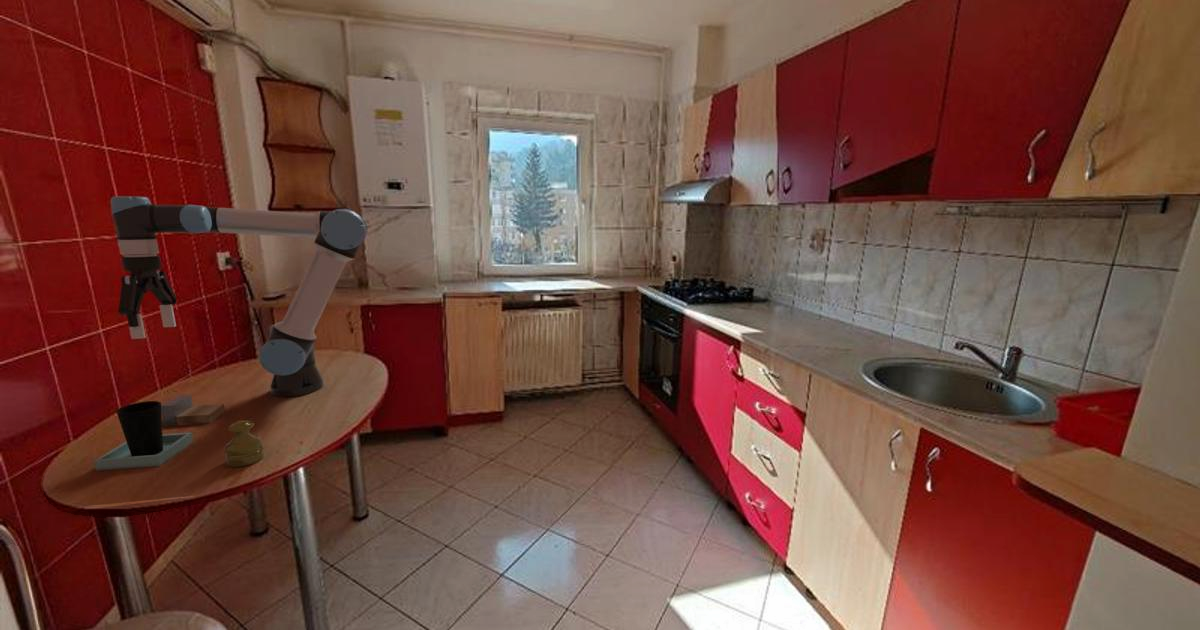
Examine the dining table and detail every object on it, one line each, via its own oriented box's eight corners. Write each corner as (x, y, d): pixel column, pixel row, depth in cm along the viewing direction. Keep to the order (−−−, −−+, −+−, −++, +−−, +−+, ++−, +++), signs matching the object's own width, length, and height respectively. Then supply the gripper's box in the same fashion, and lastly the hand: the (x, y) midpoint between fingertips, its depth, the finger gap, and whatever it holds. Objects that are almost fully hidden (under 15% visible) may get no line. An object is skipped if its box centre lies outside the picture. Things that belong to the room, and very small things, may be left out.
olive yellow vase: (223, 470, 108) (216, 430, 106) (230, 456, 114) (224, 418, 112) (261, 463, 111) (256, 424, 109) (266, 450, 118) (261, 413, 116)
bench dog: (193, 414, 138) (190, 394, 137) (176, 425, 130) (173, 405, 129) (182, 414, 137) (178, 395, 136) (163, 426, 129) (160, 406, 128)
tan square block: (225, 413, 140) (224, 403, 139) (210, 424, 132) (208, 414, 132) (194, 415, 138) (193, 405, 137) (177, 426, 130) (175, 416, 130)
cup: (176, 448, 116) (168, 403, 114) (138, 463, 109) (129, 415, 107) (156, 443, 118) (148, 399, 116) (118, 457, 111) (108, 410, 109)
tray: (193, 441, 121) (192, 432, 121) (160, 465, 109) (158, 456, 109) (136, 445, 118) (134, 436, 118) (95, 471, 106) (93, 461, 106)
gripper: (153, 252, 135) (166, 323, 139) (87, 259, 112) (105, 344, 116) (184, 252, 137) (195, 322, 141) (125, 259, 114) (141, 342, 118)
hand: (155, 332), depth 129 cm, fingers open, 13 cm apart
